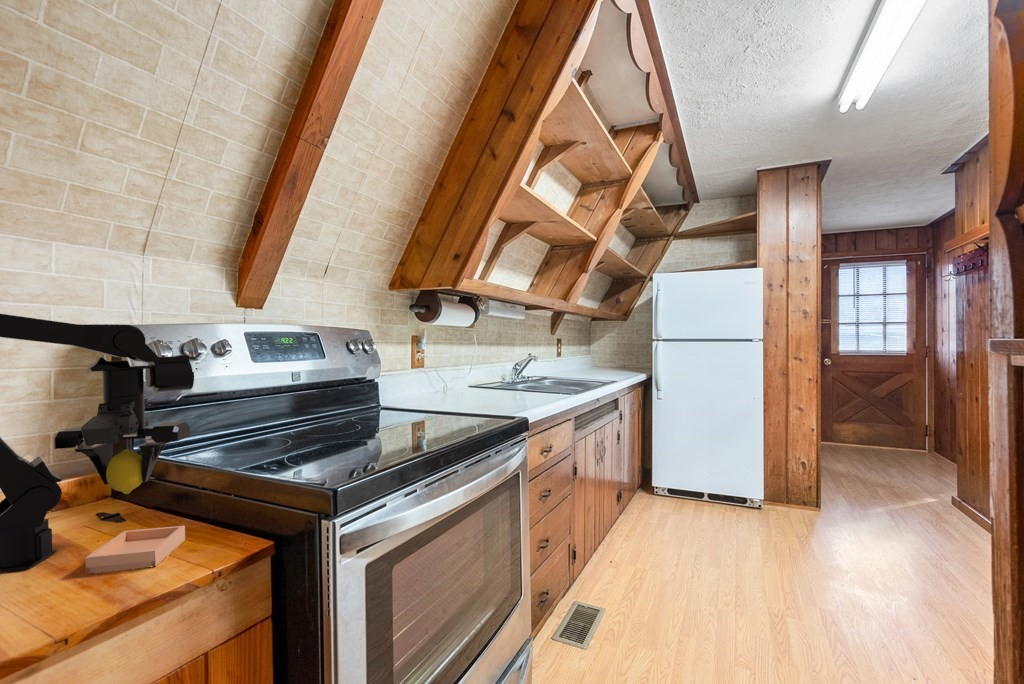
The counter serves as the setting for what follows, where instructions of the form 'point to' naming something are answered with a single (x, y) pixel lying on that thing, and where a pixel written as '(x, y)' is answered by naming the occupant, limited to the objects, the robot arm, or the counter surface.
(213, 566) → the counter surface
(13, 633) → the counter surface
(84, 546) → the counter surface
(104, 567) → the dish
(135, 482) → the lemon
